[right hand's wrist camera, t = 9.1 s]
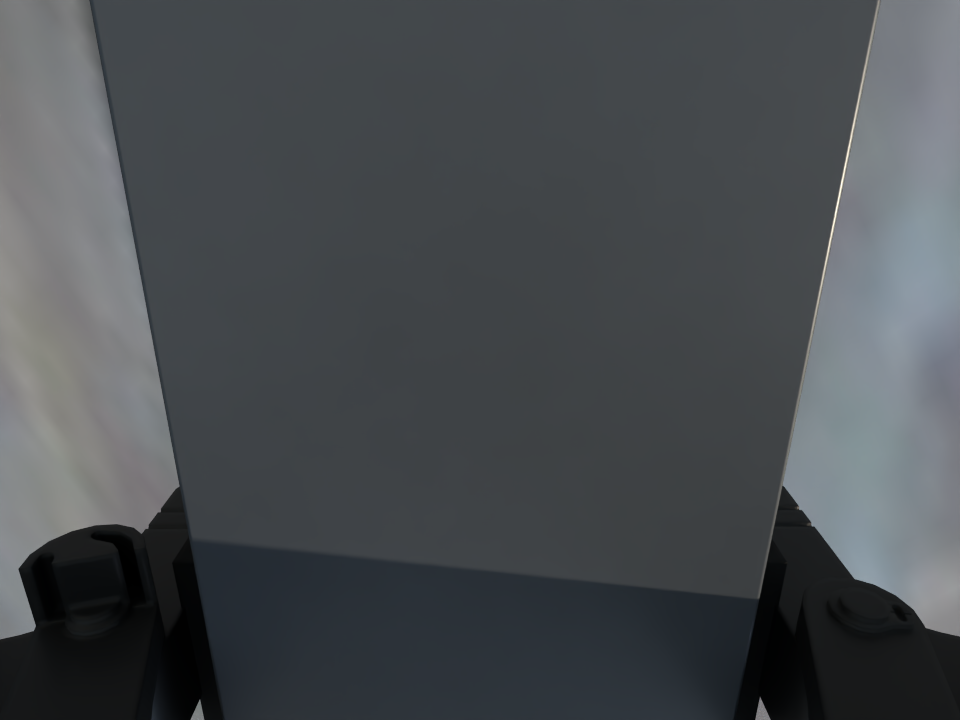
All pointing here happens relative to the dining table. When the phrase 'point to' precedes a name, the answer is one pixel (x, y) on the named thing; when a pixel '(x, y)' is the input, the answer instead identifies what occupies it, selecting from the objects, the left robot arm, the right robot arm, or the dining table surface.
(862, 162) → the dining table surface
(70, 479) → the dining table surface
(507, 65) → the bar
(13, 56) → the dining table surface
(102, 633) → the right robot arm
